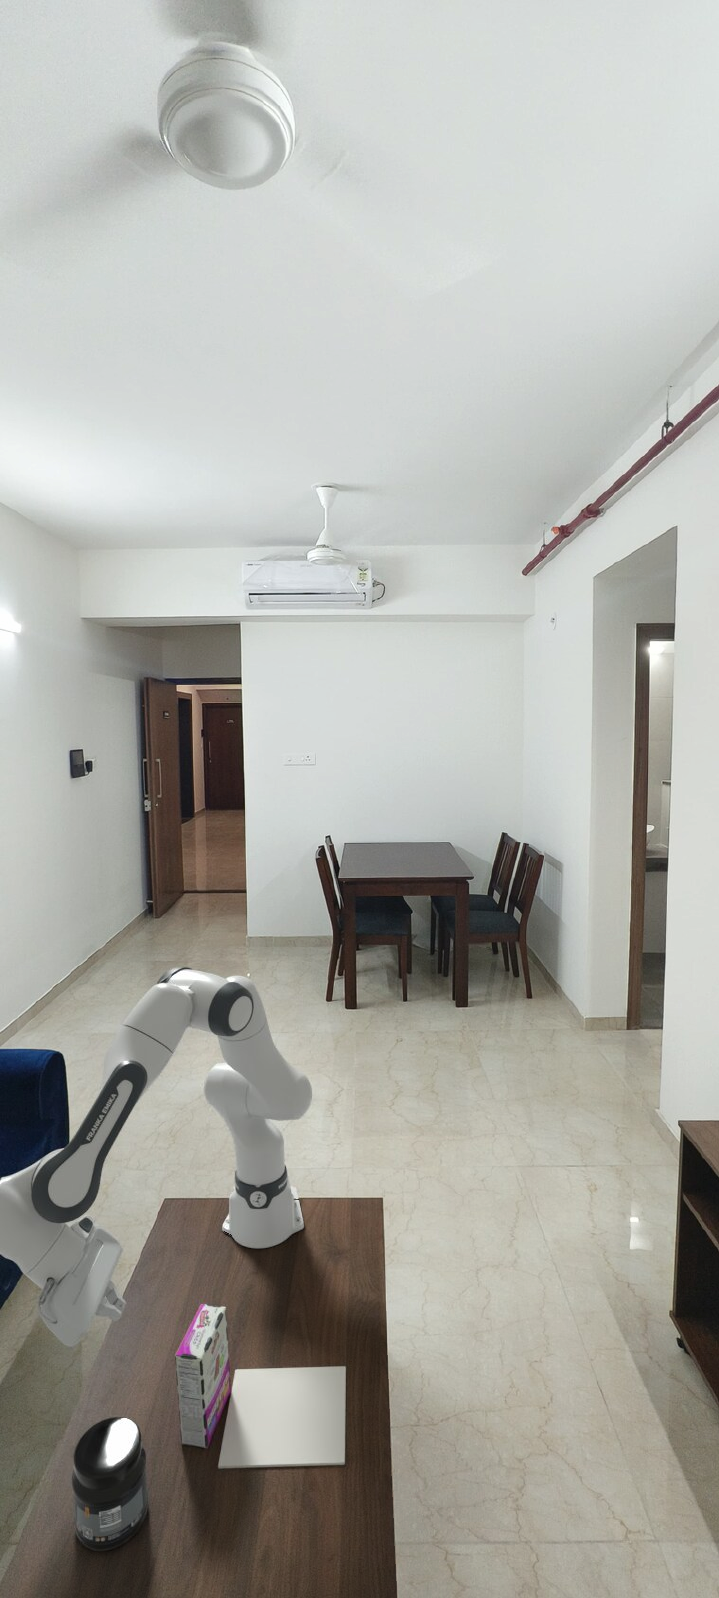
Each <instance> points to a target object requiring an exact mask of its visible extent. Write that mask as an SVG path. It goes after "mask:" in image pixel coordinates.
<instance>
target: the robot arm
mask: <svg viewBox="0 0 719 1598" xmlns="http://www.w3.org/2000/svg"><path fill="white" fill-rule="evenodd" d="M122 1022H123V1023H122V1024H121V1026H120V1027H119V1029H118V1031H116V1032H117V1033H115V1036H114V1037H113V1039H112V1041H111V1043H110V1046H109V1047H108V1050H107V1052H106V1055H105V1058H104V1061H103V1076H102V1081H101V1082H102V1083H101V1086H100V1089H99V1092H98V1094H97V1096H96V1098H95V1100H94V1102H93V1103H92V1105H91V1107H90V1109H89V1110H88V1112H87V1113H86V1115H85V1117H84V1119H83V1120H82V1122H81V1123H80V1125H79V1127H78V1128H77V1130H76V1132H75V1134H74V1135H73V1137H72V1138H71V1140H70V1141H69V1142H68V1143H67V1145H66V1146H65V1147H64V1148H58V1149H55V1150H53V1151H51V1152H49V1153H48V1154H46V1155H45V1156H43V1157H42V1158H40V1159H39V1160H37V1161H35V1163H33V1164H32V1165H30V1166H28V1167H25V1168H24V1169H22V1170H19V1171H17V1172H15V1173H13V1174H10V1175H7V1176H2V1177H0V1255H1V1256H2V1257H4V1258H5V1259H8V1260H10V1261H13V1262H14V1263H15V1264H16V1265H17V1266H18V1268H19V1269H20V1271H21V1272H22V1273H23V1275H24V1276H26V1277H27V1278H28V1279H30V1281H32V1282H33V1283H34V1284H35V1285H36V1286H37V1287H39V1288H40V1289H41V1292H40V1293H39V1295H38V1297H37V1298H36V1299H37V1300H36V1305H37V1314H38V1315H39V1317H40V1318H42V1320H43V1322H44V1325H46V1326H47V1328H48V1329H49V1330H50V1331H51V1332H52V1333H53V1335H54V1336H55V1337H56V1338H57V1339H58V1340H59V1341H60V1342H61V1343H62V1344H63V1345H65V1346H66V1347H75V1346H76V1345H77V1344H78V1343H79V1342H80V1341H82V1339H83V1338H85V1336H86V1335H87V1334H88V1331H89V1329H90V1326H91V1325H92V1323H93V1320H94V1318H95V1316H98V1317H99V1316H100V1317H107V1318H109V1319H110V1320H111V1321H112V1322H113V1323H114V1322H115V1323H116V1322H118V1320H120V1318H121V1317H122V1315H123V1313H124V1309H125V1308H126V1305H127V1301H126V1300H125V1299H124V1298H123V1297H122V1296H120V1293H119V1291H118V1289H117V1285H116V1284H115V1283H114V1282H113V1281H112V1280H111V1278H112V1276H113V1274H114V1272H115V1269H116V1267H117V1265H118V1263H119V1260H120V1258H121V1256H122V1253H123V1251H124V1250H123V1246H122V1243H121V1242H120V1240H119V1239H117V1238H116V1236H114V1235H113V1234H112V1233H111V1232H110V1231H108V1230H107V1229H106V1228H105V1227H104V1226H102V1225H100V1224H96V1220H95V1219H94V1217H93V1216H92V1215H90V1214H87V1212H88V1210H89V1209H90V1208H91V1207H92V1206H93V1205H94V1203H95V1201H96V1199H97V1197H98V1193H99V1191H100V1186H101V1179H102V1173H103V1172H102V1171H103V1168H104V1164H105V1161H106V1159H107V1156H108V1154H109V1152H110V1150H111V1149H112V1147H113V1145H114V1143H115V1142H116V1140H117V1138H118V1137H119V1135H120V1133H121V1131H122V1129H123V1127H124V1125H125V1123H126V1122H127V1120H128V1118H129V1116H130V1114H131V1113H132V1112H133V1110H134V1108H135V1106H136V1105H137V1104H138V1103H139V1101H140V1100H141V1099H142V1098H143V1096H144V1095H145V1094H146V1093H147V1091H149V1089H150V1087H151V1086H152V1085H153V1084H154V1083H155V1081H156V1080H157V1079H158V1078H159V1076H160V1075H161V1073H162V1072H163V1071H164V1070H165V1068H166V1066H167V1065H168V1063H169V1062H170V1060H171V1058H172V1056H173V1055H174V1053H175V1052H176V1051H177V1047H178V1046H179V1045H180V1042H181V1040H182V1038H183V1036H184V1034H185V1032H186V1030H187V1029H188V1028H192V1029H197V1030H200V1031H204V1032H207V1033H213V1035H215V1036H217V1039H218V1043H219V1047H220V1051H221V1055H222V1057H223V1060H224V1062H218V1063H216V1064H214V1065H213V1066H212V1067H211V1068H210V1070H209V1071H208V1072H207V1074H206V1076H205V1079H204V1084H203V1093H204V1097H205V1099H206V1101H207V1104H209V1106H211V1107H212V1108H213V1109H214V1110H215V1111H216V1112H217V1114H218V1115H219V1116H220V1117H221V1118H222V1119H223V1120H222V1121H223V1122H224V1123H225V1124H226V1126H227V1128H228V1131H229V1132H230V1135H231V1138H232V1141H233V1145H234V1147H233V1148H234V1155H235V1164H236V1165H235V1167H236V1169H235V1172H234V1186H233V1189H232V1192H231V1193H230V1195H229V1198H228V1200H229V1201H228V1207H229V1208H228V1214H227V1216H226V1218H225V1220H224V1222H223V1224H222V1228H221V1230H222V1231H223V1232H224V1231H225V1232H227V1233H229V1234H228V1235H230V1234H231V1235H232V1236H231V1235H230V1236H231V1237H232V1238H233V1239H234V1241H235V1242H236V1243H238V1244H239V1245H240V1246H244V1247H246V1248H251V1249H266V1248H267V1249H268V1248H270V1247H271V1248H272V1247H274V1246H277V1245H279V1244H281V1243H283V1242H285V1241H286V1240H287V1239H288V1238H290V1237H291V1236H292V1235H293V1234H295V1233H297V1232H299V1231H301V1230H303V1229H304V1228H305V1224H304V1218H303V1213H302V1208H301V1205H300V1197H299V1193H298V1190H297V1187H296V1186H292V1185H291V1183H290V1178H289V1175H288V1169H287V1165H286V1164H285V1163H286V1162H285V1139H284V1136H283V1134H282V1132H281V1130H280V1129H279V1128H278V1127H277V1126H276V1124H274V1123H273V1122H271V1121H270V1120H273V1121H280V1122H281V1121H297V1120H300V1119H301V1118H303V1117H304V1116H305V1115H306V1114H307V1112H308V1111H309V1109H310V1106H311V1104H312V1099H313V1089H312V1085H311V1082H310V1080H309V1078H308V1077H307V1075H305V1074H303V1073H302V1072H300V1071H299V1070H297V1069H296V1068H294V1067H293V1066H292V1065H291V1064H290V1063H289V1062H288V1061H287V1060H286V1058H285V1057H284V1056H283V1055H282V1053H281V1052H280V1051H279V1049H278V1048H277V1046H276V1045H275V1043H274V1041H273V1038H272V1035H271V1034H272V1033H271V1030H270V1027H269V1024H268V1023H269V1021H268V1019H267V1014H266V1010H265V1007H264V1004H263V1000H262V999H261V996H260V994H259V992H258V989H257V987H256V985H255V984H254V982H253V981H252V980H251V979H250V978H248V977H246V976H242V975H231V976H228V977H223V976H220V975H218V974H214V973H210V972H205V971H202V970H196V969H193V968H191V967H187V966H177V967H175V966H174V967H171V968H170V969H168V970H167V971H165V972H164V973H163V974H162V975H161V976H160V978H159V979H158V980H157V982H156V983H155V984H154V985H153V986H151V987H150V988H149V990H147V992H146V993H145V994H144V995H143V996H142V997H141V998H140V999H139V1000H138V1002H137V1003H136V1005H135V1006H134V1007H133V1008H132V1010H131V1011H130V1012H129V1013H128V1015H127V1017H126V1018H125V1020H124V1021H122ZM294 1199H299V1200H294ZM85 1213H86V1214H85ZM84 1214H85V1215H84ZM79 1218H80V1219H79ZM77 1219H79V1220H77ZM75 1220H77V1221H76V1222H75V1223H73V1224H72V1225H70V1226H69V1225H68V1224H67V1223H70V1222H72V1221H75ZM225 1232H224V1233H225ZM227 1233H226V1234H227ZM107 1302H108V1303H107Z"/></svg>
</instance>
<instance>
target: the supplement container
mask: <svg viewBox="0 0 719 1598" xmlns="http://www.w3.org/2000/svg"><path fill="white" fill-rule="evenodd" d="M141 1432H142V1431H141V1429H140V1428H139V1425H138V1424H137V1423H136V1422H135V1420H131V1419H130V1418H127V1417H124V1416H113V1417H109V1418H105V1419H102V1420H100V1421H98V1422H97V1423H94V1424H93V1425H92V1426H90V1427H89V1428H88V1429H87V1430H86V1431H84V1433H83V1434H82V1435H81V1437H80V1439H79V1440H78V1441H77V1443H76V1446H75V1448H74V1452H73V1457H72V1458H73V1459H72V1460H73V1468H72V1471H71V1478H70V1479H71V1480H70V1483H71V1484H70V1485H71V1489H72V1490H71V1491H72V1497H73V1499H72V1500H73V1511H74V1512H73V1514H74V1529H75V1533H76V1537H77V1538H78V1539H79V1542H80V1543H81V1544H82V1545H83V1547H85V1548H87V1549H89V1550H93V1551H96V1552H97V1551H98V1552H102V1551H103V1552H104V1551H111V1550H114V1549H115V1548H118V1547H120V1546H122V1545H123V1544H125V1543H126V1542H128V1541H129V1540H130V1539H131V1538H132V1537H134V1535H135V1534H136V1533H137V1531H138V1530H139V1529H140V1528H141V1526H142V1525H143V1523H144V1520H145V1519H146V1517H147V1516H146V1515H147V1512H148V1509H149V1492H148V1482H147V1481H148V1479H147V1451H146V1449H145V1446H144V1444H143V1442H142V1441H143V1440H142V1433H141Z"/></svg>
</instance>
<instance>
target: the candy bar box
mask: <svg viewBox="0 0 719 1598" xmlns="http://www.w3.org/2000/svg"><path fill="white" fill-rule="evenodd" d="M227 1321H228V1319H227V1307H226V1306H222V1305H214V1304H213V1305H212V1304H210V1305H209V1304H207V1303H200V1305H199V1307H198V1310H197V1311H196V1313H195V1315H194V1317H193V1319H192V1321H191V1323H190V1325H189V1327H188V1329H187V1331H186V1332H185V1335H184V1336H183V1339H182V1341H181V1343H180V1344H179V1347H177V1350H176V1352H175V1354H174V1358H175V1374H176V1387H177V1388H176V1389H177V1399H178V1413H179V1414H178V1415H179V1429H180V1442H181V1445H184V1446H185V1445H186V1446H192V1447H198V1448H201V1449H208V1448H209V1446H210V1443H211V1441H212V1439H213V1436H214V1434H215V1431H216V1428H217V1426H218V1423H219V1421H220V1419H221V1416H222V1413H223V1411H224V1409H225V1407H226V1403H227V1402H228V1399H229V1397H230V1396H231V1391H232V1385H231V1370H230V1368H231V1367H230V1354H229V1352H230V1351H229V1337H228V1336H229V1335H228V1323H227Z"/></svg>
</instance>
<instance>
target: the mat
mask: <svg viewBox="0 0 719 1598" xmlns="http://www.w3.org/2000/svg"><path fill="white" fill-rule="evenodd" d="M346 1374H347V1367H346V1366H345V1365H344V1366H311V1367H307V1366H306V1367H281V1368H280V1367H277V1368H275V1367H274V1368H273V1367H272V1368H243V1369H242V1368H241V1369H239V1368H237V1369H235V1370H234V1375H233V1380H232V1381H233V1382H232V1385H231V1392H230V1396H229V1397H230V1398H229V1403H228V1408H227V1409H228V1410H227V1414H226V1421H225V1425H224V1432H223V1437H222V1442H221V1448H220V1449H221V1450H220V1454H219V1460H218V1465H217V1468H218V1469H247V1468H250V1469H251V1468H274V1467H275V1468H277V1467H278V1468H280V1467H281V1468H282V1467H310V1466H313V1467H315V1466H344V1465H346V1395H347V1394H346V1393H347V1392H346V1388H347V1387H346V1386H347V1384H346V1383H347V1382H346V1381H347V1380H346V1379H347V1375H346Z"/></svg>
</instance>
